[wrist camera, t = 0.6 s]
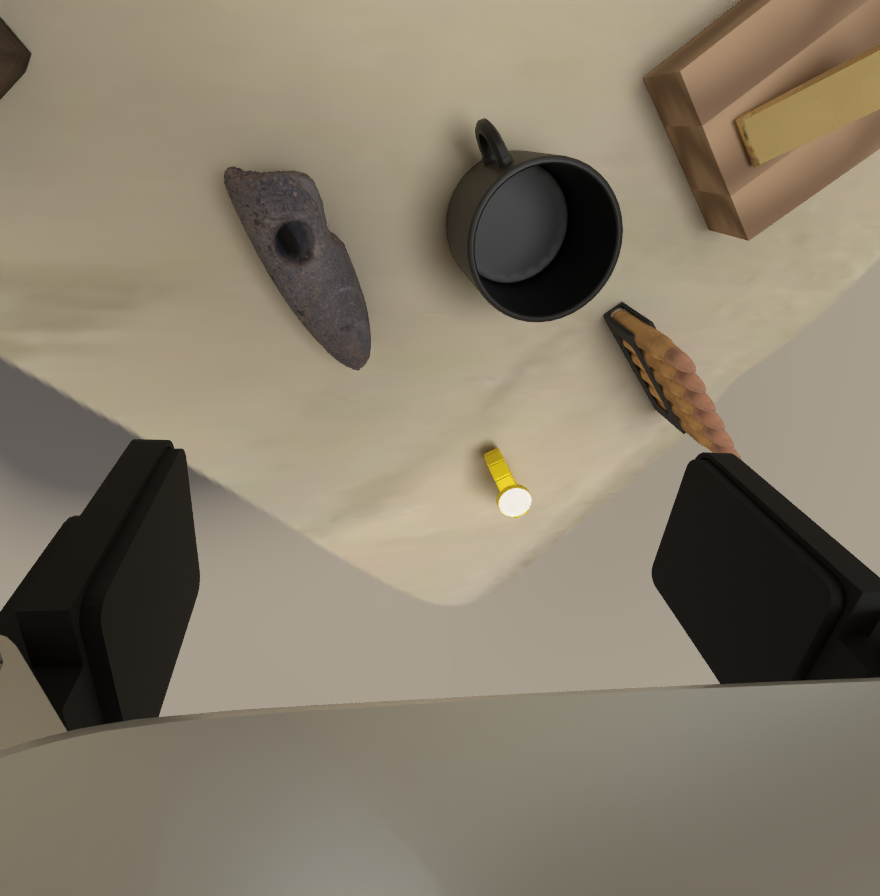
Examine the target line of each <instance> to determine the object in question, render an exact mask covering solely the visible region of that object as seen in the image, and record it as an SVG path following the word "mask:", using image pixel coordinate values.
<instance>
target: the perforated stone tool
mask: <svg viewBox="0 0 880 896" xmlns="http://www.w3.org/2000/svg"><path fill="white" fill-rule="evenodd" d="M224 179H225V182H224V183H225V186H226V188H227V190H228V193H229V196H230V198H231V201H232V203H233V205H234V207H235V209H236V212H237V214H238V215H239V218H240V220H241V222H242V224H243V226H244V228H245V231H246V232H247V234H248V236H249V238H250V240H251V242H252V244H253V246H254V248H255V250H256V252H257V254H258V255H259V257H260V259H261V261H262V263H263V264H264V266H265V268H266V270H267V272H268V274H269V275H270V277H271V278H272V280H273V282H274V283H275V285H276V287H277V288H278V290H279V292H280V293H281V295H282V296H283V297H284V299H285V301H286V302H287V304H288V305H289V306H290V308H291V309H292V311H293V312H294V313H295V315H296V316H297V317H298V319H299V320H300V321H301V322H302V324H303V325H304V326H305V327H306V329H307V330H308V331H309V332H310V333H311V334H312V335H313V337H314V338H315V339H316V340H317V341H318V342H319V343H320V344H321V345H322V346H323V347H324V348H325V349H326V351H327V352H328V353H330V354H331V355H332V356H333V357H334V358H335V359H336V360H338V361H339V362H340V363H342V364H344V365H346V366H347V367H349V368H352V369H353V370H354V369H355V370H360V368H362V367H363V366H364V365H365V364H366V362H367V360H368V359H369V357H370V349H371V335H370V325H369V318H368V312H367V307H366V303H365V300H364V296H363V293H362V290H361V288H360V285H359V281H358V278H357V276H356V273H355V270H354V268H353V265H352V263H351V260H350V258H349V255H348V253H347V250H346V248H345V245H344V243H343V242H342V241H341V240H340V239H339V238H338V237H337V236H336V235H335V234H334V233H332V232H331V231H329V229H328V228H327V223H326V219H325V214H324V209H323V203H322V200H321V198H320V195H319V192H318V190H317V188H316V185H315V183H314V181H313V180H312V179H311V178H310V177H309V176H308V175H307V174H304V173H300V172H296V171H288V172H287V171H286V172H285V171H283V172H280V171H276V172H267V173H266V172H264V173H262V174H261V173H258V172H256V171H254V172H252V171H247V172H245V171H242V170H241V169H240V168H236V167H234V166H233V167H229V168H227V170H226V171H225V174H224Z"/></svg>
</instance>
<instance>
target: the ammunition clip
mask: <svg viewBox="0 0 880 896" xmlns="http://www.w3.org/2000/svg"><path fill="white" fill-rule="evenodd" d="M604 319H605V321H606V322H607V324H608V326H609V328H610V329H611V331H612V333H613V335H614V337H615V338H616V340H617V342H618V344H619V345H620V347H621V349H622V351H623V353H624V354H625V356H626V358H627V360H628V361H629V363H630V365H631V367H632V369H633V370H634V372H635V374H636V376H637V378H638V379H639V381H640V383H641V385H642V386H643V388H644V390H645V392H646V394H647V395H648V397H649V399H650V401H651V402H652V404H653V406H654V408H655V410H657V411H658V412H659V413H660V414H661V415H662V416H663V417H665V418H666V419H667V420H668V421H669V422H670V423H671V424H673V425H674V426H675V427H676V428H677V429H678V430H680V431H681V432H682V433H683V434H685V433H688V434H689V435H690V436H691V437H692V438H693V439H694V440H696V441H697V442H698V443H699V444H701V445H702V446H704V447H706V448H708V449H709V450H711V451H712V452H713V453H732V454H734V455H736V456H737V457H738V458H739V459H741V458H740V456H739V454H738V453H737V451H736V450H735V449H734V444H733V442H732V440H731V438H730V436H729V435H728V434H727V432H726V431H725V430H724V429H725V426H724V423H723V421H722V420H721V418H720V417H719V415H718V414H717V413H716V412H715V410H716V409H715V405H714V403H713V402H712V400H711V398H710V397H709V396H708V395H707V394H706V393H705V392H706V387H705V385H704V383H703V381H702V380H701V379H700V377H699V376H698V375H697V374H696V373H694V372H695V371H696V367H695V365H694V363H693V361H692V360H691V358H690V357H689V356H688V355H687V354H686V353H684V352H683V351H682V350H680V349H679V348H678V347H677V346H676V345H675V344H674V343H673V342H672V340H671V339H669V338H668V337H667V336H665V335H664V334H662V333H661V332H659V331H658V330H656V328H655V326H654V324H653V322H652V321H650V320H649V319H647V318H646V317H644V316H643V315H641V314H640V313H638V312H637V311H635V310H634V309H632V308H631V307H629V306H628V305H626V304H625V303H623V302H622V303H620V304H619V305H617V306H616V307H615V308H613V309H612V310H610V311H609V312H607V313H606V314H604Z"/></svg>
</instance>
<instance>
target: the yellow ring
mask: <svg viewBox="0 0 880 896" xmlns="http://www.w3.org/2000/svg"><path fill="white" fill-rule="evenodd" d="M484 458H485V461H486V463H487V466H488V468H489V470H490V472H491V474H492V476H493V479H494V481H496V482H495V483H496V485H497V487H498V489H499V491H500V492H499V494H498V496H497V505H498V508H499V510H500V511H501V513H502V514H504V515H506V516H509V517H514V518H517V517H519V516H521V515H524V514H526V513H528V512H529V510H528V509H529V507H530V505H531V500H532V499H531V495H530V493H529V491H528V490H527V488H525V487H524V486H522V485H519V484H516V482H515V480H514V478H513V476H512V474H511V472H510V470H509V468H508V466H507V464H506V462H505V460H504V458H503V456H502V454H501V452H500V450H499V448H495V449H493V450H491V451H489V452H487V453H485V454H484Z"/></svg>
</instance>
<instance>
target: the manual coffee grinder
mask: <svg viewBox="0 0 880 896" xmlns="http://www.w3.org/2000/svg"><path fill="white" fill-rule="evenodd" d="M30 56H31V53H30V52H29V50H28V49H27V48H26V47H25V46H24V45H23V43H22V42H21V41H20V40H19V39H18V38H17V36H16V35H15V34H14V33H13V32H12V31H11V29H10V28H9V27H8V26H7V25H6V24H5V22H4V21H3V20H2V19H1V18H0V99H1V98H2V97H3V96H4V95H5V94H6V93H7V92H8V90H9V89H10V88H11V87H12V86H13V85H14V84H15V83H16V82H17V80H18V79H19V78H20V77H21V76H22V75H23V74H24V73H25V71H26V68H27V65H28V62H29V59H30Z"/></svg>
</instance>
